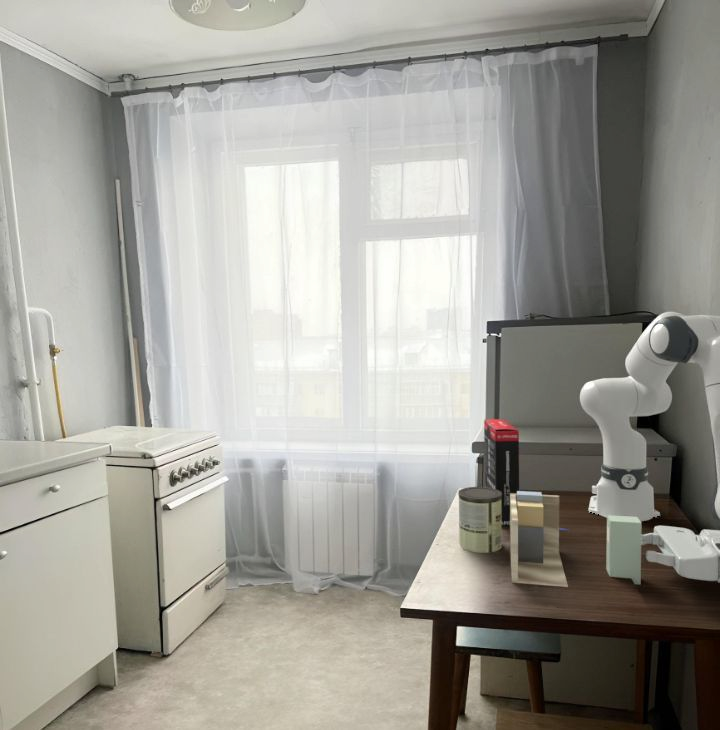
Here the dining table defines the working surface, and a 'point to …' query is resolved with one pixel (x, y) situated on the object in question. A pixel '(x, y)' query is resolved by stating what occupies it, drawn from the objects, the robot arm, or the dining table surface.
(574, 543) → the dining table surface
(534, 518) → the shelved books
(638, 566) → the boxed book
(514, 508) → the shelf
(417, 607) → the dining table surface
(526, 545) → the bookend
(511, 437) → the graphics card box
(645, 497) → the robot arm
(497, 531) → the coffee can
